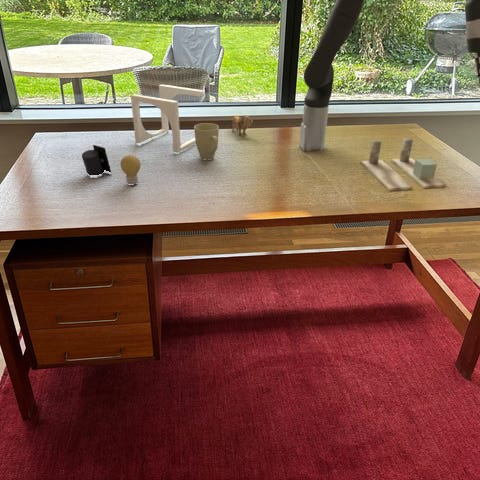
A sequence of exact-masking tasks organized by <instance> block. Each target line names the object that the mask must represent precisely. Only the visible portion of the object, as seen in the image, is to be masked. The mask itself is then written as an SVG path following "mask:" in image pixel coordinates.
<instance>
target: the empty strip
mask: <svg viewBox="0 0 480 480" xmlns="http://www.w3.org/2000/svg"><path fill="white" fill-rule="evenodd" d="M370 147H371V148H370V154H369V160H360V164H361V165H362V166H363V167H364V168H365V169H366V170H367V171H368V172H369V173H371V175H372V176H374V178H375V179H376V180H378V181H379V182H380V183H381V184H382V185H383V186H384V187H385V188H386V189H387V190H388V191H392V192H393V191H402V190H403V191H404V190H405V191H406V190H412V189H413V185H411V184H410V183H409V182H408V181H406V179H404V178H403V177H402V176H401V175H399V173H397V172H396V171H395V170H394V169H393V168H392V167H391V166H389V164H387V163H386V162H385V161H383V160H382V159H380V153H381V147H382V140H380V139H372V141H371V146H370Z"/></svg>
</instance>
